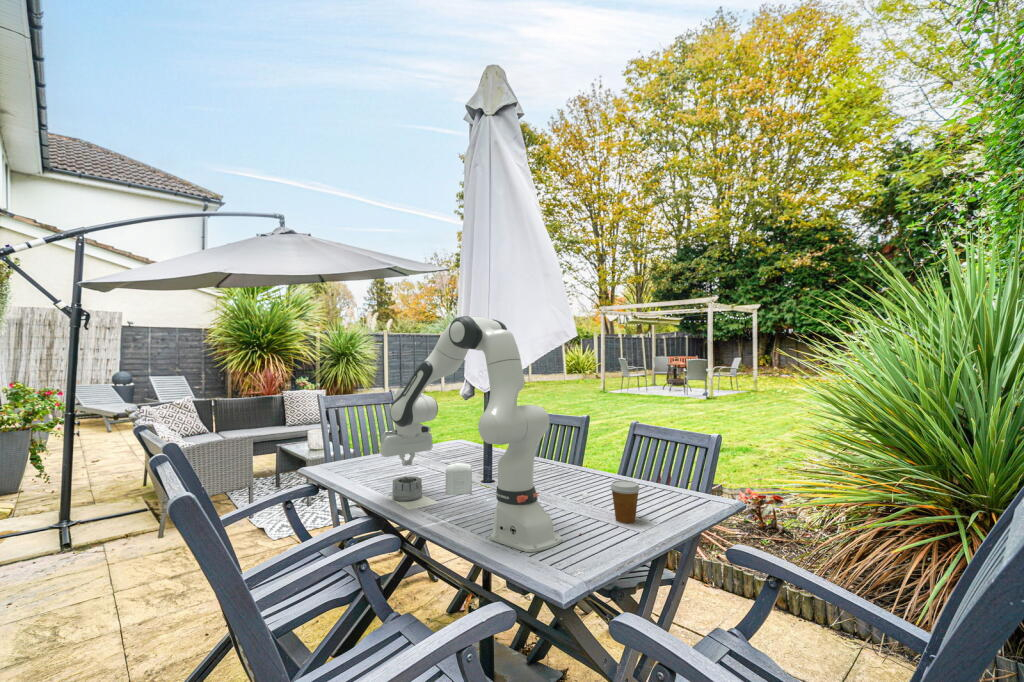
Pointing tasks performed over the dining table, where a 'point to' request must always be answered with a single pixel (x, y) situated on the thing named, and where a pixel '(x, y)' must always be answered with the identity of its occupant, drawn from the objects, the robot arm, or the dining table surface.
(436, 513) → the dining table surface
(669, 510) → the dining table surface
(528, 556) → the dining table surface
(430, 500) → the board
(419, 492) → the grey castle nut
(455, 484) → the photo printer
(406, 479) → the cap
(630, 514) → the disposable coffee cup
